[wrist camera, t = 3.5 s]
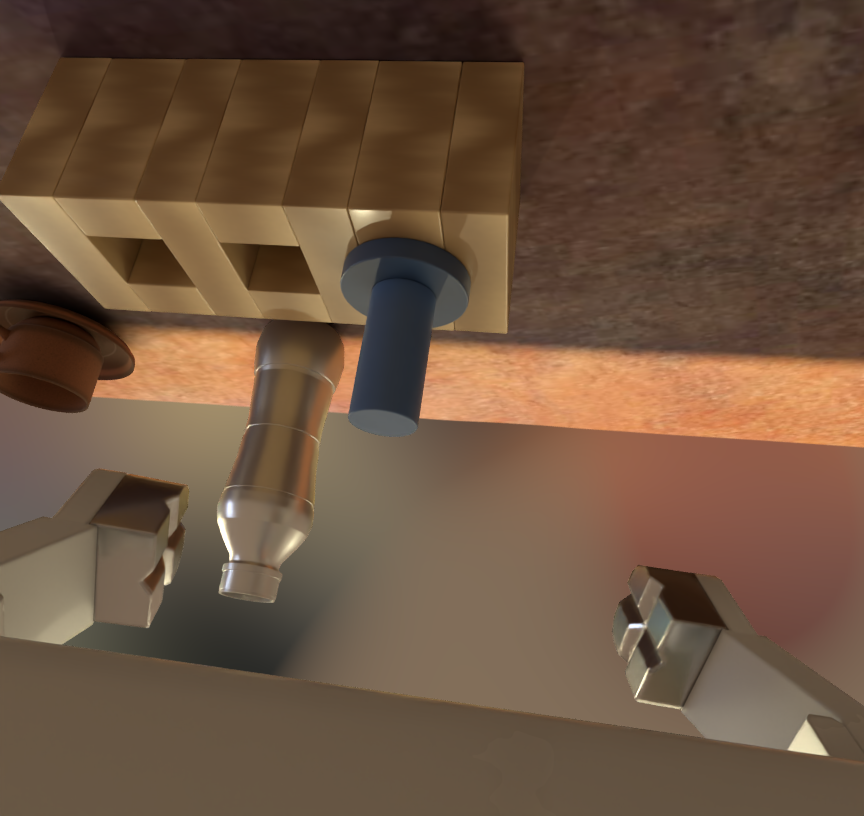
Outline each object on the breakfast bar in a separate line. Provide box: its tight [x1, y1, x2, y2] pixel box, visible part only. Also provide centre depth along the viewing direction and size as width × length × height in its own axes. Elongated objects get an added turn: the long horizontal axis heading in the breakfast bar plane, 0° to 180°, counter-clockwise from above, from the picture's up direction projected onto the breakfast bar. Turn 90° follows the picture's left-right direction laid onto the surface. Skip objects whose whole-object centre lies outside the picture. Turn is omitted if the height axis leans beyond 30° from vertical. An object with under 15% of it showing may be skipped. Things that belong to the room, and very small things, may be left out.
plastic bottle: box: [217, 319, 344, 603], centre depth 48 cm, size 6×7×20 cm
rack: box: [0, 58, 524, 333], centre depth 33 cm, size 21×9×8 cm, turn 95°
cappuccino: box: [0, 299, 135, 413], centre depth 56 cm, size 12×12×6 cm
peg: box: [340, 237, 471, 437], centre depth 30 cm, size 6×6×13 cm
